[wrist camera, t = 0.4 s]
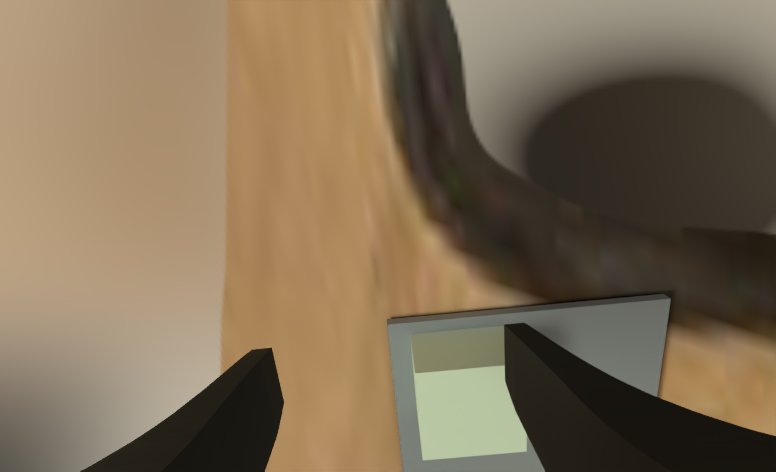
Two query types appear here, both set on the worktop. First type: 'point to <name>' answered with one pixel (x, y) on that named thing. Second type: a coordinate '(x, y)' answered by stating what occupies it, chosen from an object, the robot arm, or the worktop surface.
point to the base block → (464, 394)
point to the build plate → (561, 325)
